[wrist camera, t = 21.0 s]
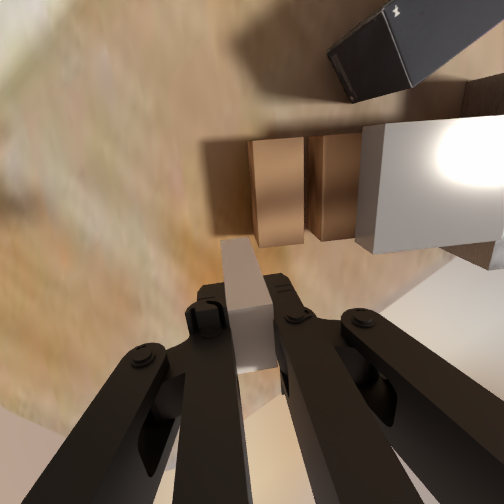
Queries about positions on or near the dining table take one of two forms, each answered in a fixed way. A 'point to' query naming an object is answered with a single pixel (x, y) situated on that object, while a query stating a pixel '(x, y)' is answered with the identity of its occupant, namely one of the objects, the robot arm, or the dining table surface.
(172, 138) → the dining table surface
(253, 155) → the bed
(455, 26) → the small box
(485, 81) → the bar
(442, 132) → the slab
